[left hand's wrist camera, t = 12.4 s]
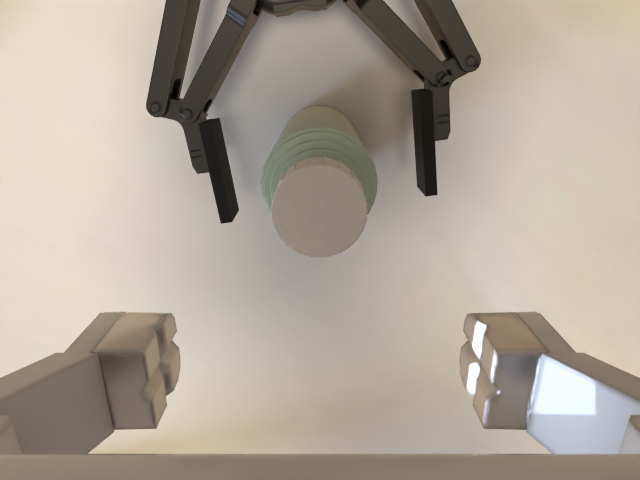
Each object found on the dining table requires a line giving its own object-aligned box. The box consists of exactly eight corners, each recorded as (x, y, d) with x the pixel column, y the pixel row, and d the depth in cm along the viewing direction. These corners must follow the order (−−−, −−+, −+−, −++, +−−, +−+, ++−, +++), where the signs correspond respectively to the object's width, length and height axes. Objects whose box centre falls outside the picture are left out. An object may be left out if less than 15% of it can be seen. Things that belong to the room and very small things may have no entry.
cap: (341, 139, 20) (343, 146, 18) (378, 220, 21) (384, 234, 19) (258, 180, 20) (252, 190, 18) (300, 256, 22) (298, 273, 20)
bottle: (337, 91, 34) (353, 113, 18) (368, 161, 36) (410, 240, 20) (268, 127, 35) (223, 179, 19) (303, 193, 37) (289, 294, 21)
